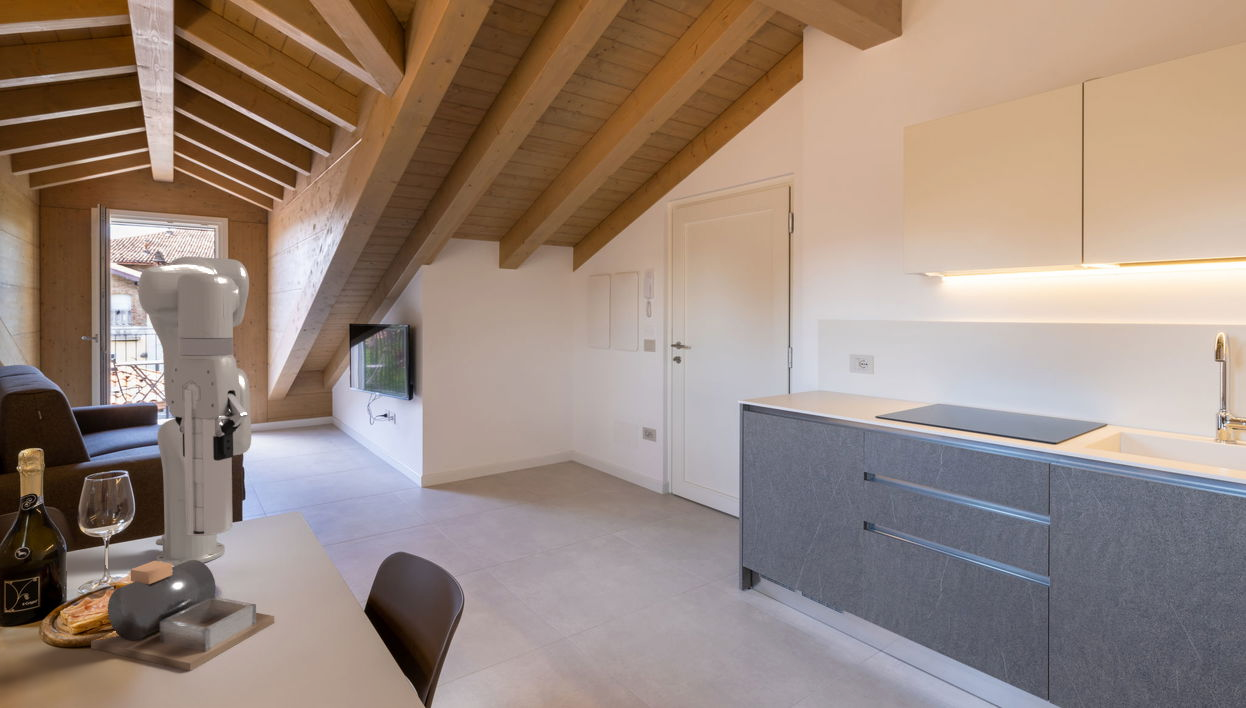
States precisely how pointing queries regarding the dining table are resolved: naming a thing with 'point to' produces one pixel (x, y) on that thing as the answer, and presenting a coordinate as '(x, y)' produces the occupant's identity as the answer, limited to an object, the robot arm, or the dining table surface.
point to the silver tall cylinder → (205, 475)
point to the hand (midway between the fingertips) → (208, 456)
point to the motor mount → (176, 616)
